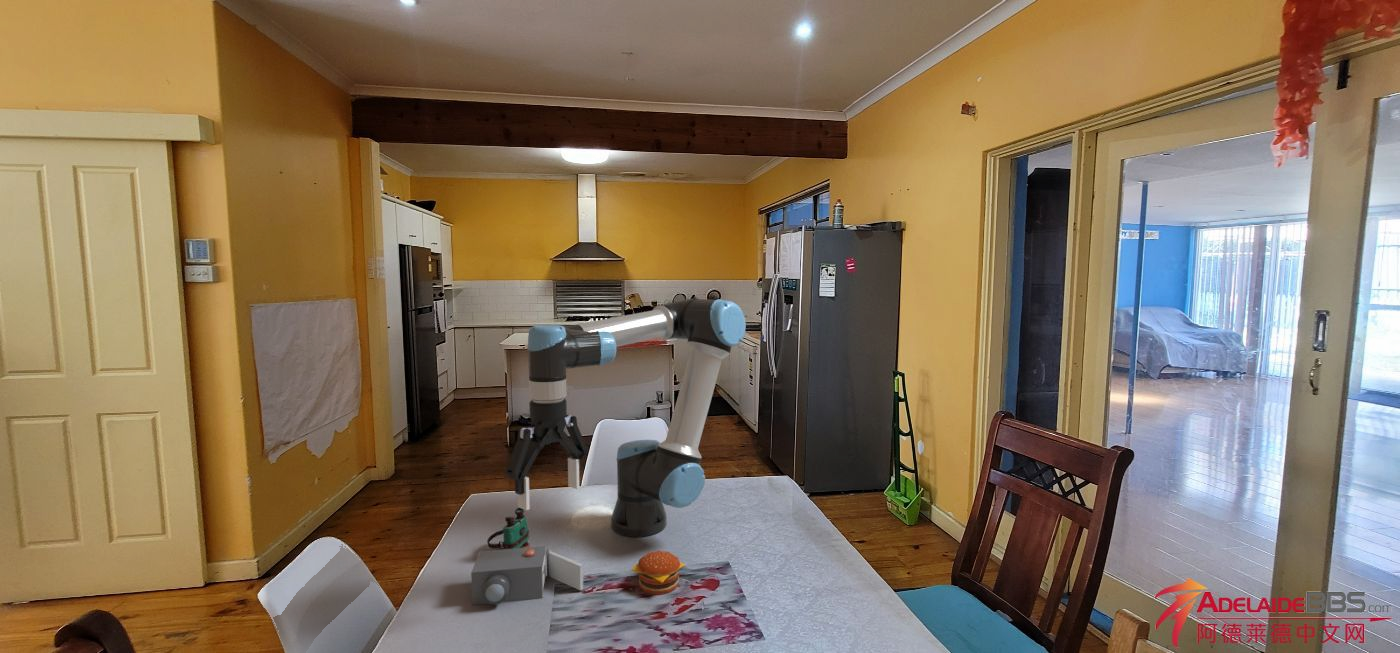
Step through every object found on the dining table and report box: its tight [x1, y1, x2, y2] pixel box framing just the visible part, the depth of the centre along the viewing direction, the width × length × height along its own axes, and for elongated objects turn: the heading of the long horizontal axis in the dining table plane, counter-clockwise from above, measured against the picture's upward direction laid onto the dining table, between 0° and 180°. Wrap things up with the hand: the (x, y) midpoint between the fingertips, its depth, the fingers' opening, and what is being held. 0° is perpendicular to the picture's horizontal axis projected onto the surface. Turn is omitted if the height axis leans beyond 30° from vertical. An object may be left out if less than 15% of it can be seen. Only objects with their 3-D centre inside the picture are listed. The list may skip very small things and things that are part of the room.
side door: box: [545, 548, 584, 591], centre depth 124 cm, size 1×11×6 cm, turn 55°
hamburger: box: [631, 550, 687, 595], centre depth 124 cm, size 9×10×7 cm
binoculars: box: [486, 507, 531, 550], centre depth 137 cm, size 9×11×10 cm
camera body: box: [470, 545, 547, 605], centre depth 120 cm, size 14×12×8 cm
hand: (549, 497), depth 119 cm, fingers open, 13 cm apart
